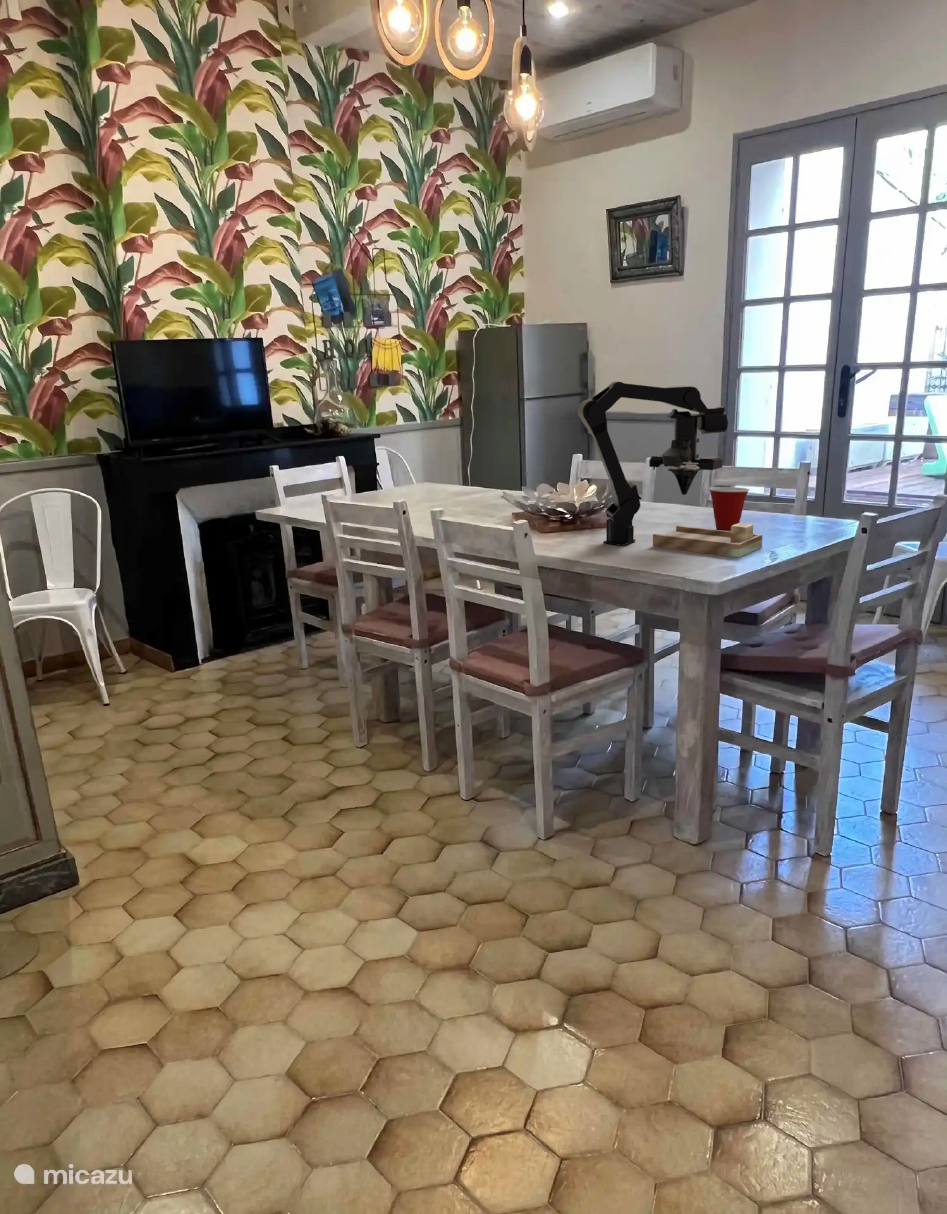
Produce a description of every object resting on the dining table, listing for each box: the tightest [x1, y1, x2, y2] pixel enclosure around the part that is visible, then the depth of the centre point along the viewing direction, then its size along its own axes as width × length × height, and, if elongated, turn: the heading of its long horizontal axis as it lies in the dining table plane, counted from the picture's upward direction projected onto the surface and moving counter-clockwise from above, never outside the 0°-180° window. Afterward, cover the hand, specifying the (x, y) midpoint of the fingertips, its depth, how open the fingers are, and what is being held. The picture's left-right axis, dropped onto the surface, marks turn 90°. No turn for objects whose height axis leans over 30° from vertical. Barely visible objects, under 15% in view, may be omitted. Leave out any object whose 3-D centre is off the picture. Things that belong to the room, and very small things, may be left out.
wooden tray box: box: [652, 525, 763, 558], centre depth 215 cm, size 24×13×3 cm, turn 48°
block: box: [731, 522, 754, 543], centre depth 210 cm, size 4×4×4 cm
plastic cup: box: [708, 486, 750, 531], centre depth 232 cm, size 11×11×12 cm
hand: (684, 494), depth 223 cm, fingers closed
